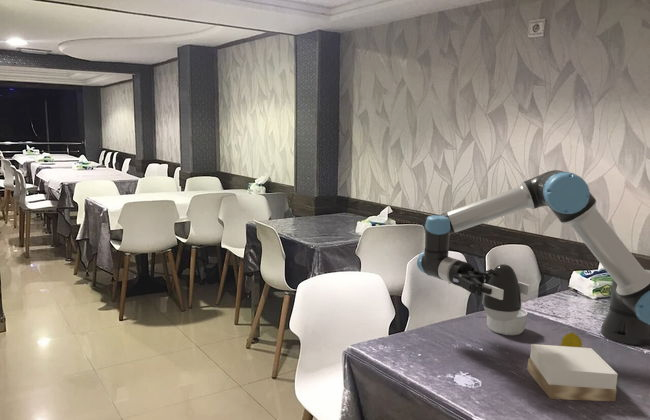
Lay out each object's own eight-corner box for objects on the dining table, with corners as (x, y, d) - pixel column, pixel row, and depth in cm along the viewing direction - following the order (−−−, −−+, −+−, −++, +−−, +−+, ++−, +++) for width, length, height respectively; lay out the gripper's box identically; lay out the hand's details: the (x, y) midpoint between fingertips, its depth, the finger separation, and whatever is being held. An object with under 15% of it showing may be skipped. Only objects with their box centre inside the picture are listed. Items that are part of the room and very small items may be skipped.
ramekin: (517, 323, 183) (518, 303, 182) (532, 337, 170) (534, 317, 169) (479, 322, 183) (481, 303, 182) (492, 336, 170) (494, 316, 169)
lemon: (572, 363, 151) (574, 337, 150) (555, 356, 156) (558, 330, 155) (584, 360, 153) (587, 334, 152) (568, 353, 158) (570, 328, 157)
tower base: (584, 374, 146) (586, 360, 145) (614, 403, 130) (616, 388, 129) (527, 371, 146) (528, 358, 146) (550, 400, 130) (551, 385, 130)
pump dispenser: (473, 314, 147) (476, 261, 145) (502, 309, 151) (505, 258, 149) (498, 326, 138) (502, 270, 136) (528, 321, 142) (532, 267, 140)
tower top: (589, 361, 145) (591, 348, 144) (615, 389, 129) (617, 374, 128) (530, 357, 146) (531, 344, 145) (548, 384, 130) (550, 369, 130)
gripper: (482, 280, 165) (542, 300, 146) (428, 288, 154) (484, 311, 135) (484, 256, 164) (544, 274, 145) (429, 264, 153) (486, 283, 134)
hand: (515, 292), depth 140 cm, fingers closed on pump dispenser, 9 cm apart
